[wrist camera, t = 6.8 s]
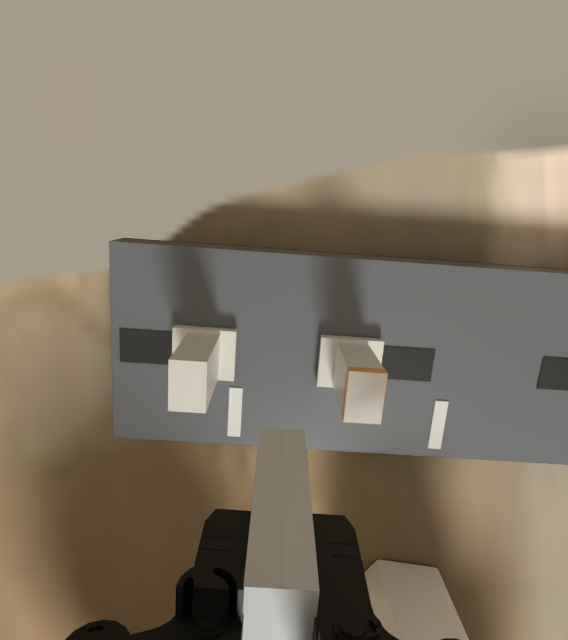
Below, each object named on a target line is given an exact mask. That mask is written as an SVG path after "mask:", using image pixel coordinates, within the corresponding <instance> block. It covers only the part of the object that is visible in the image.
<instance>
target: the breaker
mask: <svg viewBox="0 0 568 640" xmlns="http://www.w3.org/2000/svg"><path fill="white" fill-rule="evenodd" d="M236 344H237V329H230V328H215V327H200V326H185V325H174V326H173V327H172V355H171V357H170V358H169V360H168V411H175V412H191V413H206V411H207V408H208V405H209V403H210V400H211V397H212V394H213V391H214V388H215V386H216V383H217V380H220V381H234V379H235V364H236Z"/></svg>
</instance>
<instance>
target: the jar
mask: <svg viewBox="0 0 568 640" xmlns="http://www.w3.org/2000/svg"><path fill="white" fill-rule="evenodd" d="M364 573H365V578H366V583H367V587H368V592H369V596H370V601H371V605H372V609H373V612H374V615H375V616H376V617H377V618H378V619H379V620H380V621H381V624H382V626H383V627H384V629H385V630H386V631H387V632H389V633H390V634H391V635H393V636H394V637H396V638H397V639H399V640H441V639H444V638H456V639H460V640H469V638H468V636H467V634H466V632H465V629H464V627H463V625H462V622H461V620H460V618H459V615H458V613H457V611H456V609H455V606H454V604H453V602H452V599H451V597H450V595H449V593H448V590H447V588H446V586H445V583H444V581H443V579H442V577H441V574H440V572H439V570H438V569H437V568H435V567H429V566H422V565H415V564H408V563H401V562H394V561H387V560H380V559H378V560H376V561H375V562H374V563H373V564H372V565H371V566H370V567H369V568H368V569H367V570H366V571H365V572H364Z"/></svg>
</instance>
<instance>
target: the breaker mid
mask: <svg viewBox="0 0 568 640" xmlns="http://www.w3.org/2000/svg"><path fill="white" fill-rule="evenodd" d="M383 349H384V340H383V339H379V338H364V337H350V336H335V335H321V337H320V347H319V358H318V368H317V379H316V385H317V387H330V388H334V391H335V394H336V398H337V401H338V405H339V408H340V411H341V415H342V420H343V422H346V423H362V424H378V425H381V421H382V413H383V406H384V398H385V391H386V384H387V376H388V373H387V371H386V370H385V369H384V368H383V366H382V365H381V364H382V356H383Z"/></svg>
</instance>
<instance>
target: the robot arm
mask: <svg viewBox="0 0 568 640" xmlns="http://www.w3.org/2000/svg"><path fill="white" fill-rule="evenodd" d="M65 640H399V639H397V638H396V637H394V636H393V635H391V634H390V633H389V632H387V631H386V630H385V629H384V627H383V626H382V624H381V621H380V620H379V619H378V618H377V617H376V616H375V615H374V612H373V609H372V605H371V601H370V596H369V592H368V587H367V583H366V578H365V573H364V569H363V564H362V560H361V555H360V550H359V547H358V541H357V537H356V532H355V529H354V527H353V526H352V525H351V523H350V522H349V521H348V520H347V518H346V517H345V516H342V515H326V514H312V504H311V493H310V482H309V471H308V460H307V450H306V439H305V430H294V429H278V428H263V427H260V433H259V443H258V452H257V462H256V471H255V481H254V490H253V500H252V509H251V511H241V510H225V509H215V511H214V512H213V513H212V514H211V515H210V516H209V517H208V519H207V520H206V521H205V524H204V528H203V532H202V536H201V540H200V544H199V548H198V552H197V556H196V560H195V564H194V567H192V568H190V569H189V570H188V571H187V572H185V573H184V574H183V575H182V576H181V578H180V580H179V581H178V583H177V585H176V612H175V617H173V618H172V619H171V620H170V621H169V622H167V623H165V624H164V625H162V626H160V627H157V628H154V629H152V630H148V631H144V632H140V633H136V634H132V635H130V633H129V632H128V630H127V628H126V627H125V626H123V625H121V624H120V623H118V622H116V621H109V620H100V621H96V622H91V623H88V624H86V625H84V626H82V627H80V628H79V629H77V630H75V631H74V632H73V633H72V634H71V635H69V636H68V637H67V638H66V639H65ZM441 640H460V639H456V638H444V639H441Z"/></svg>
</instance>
